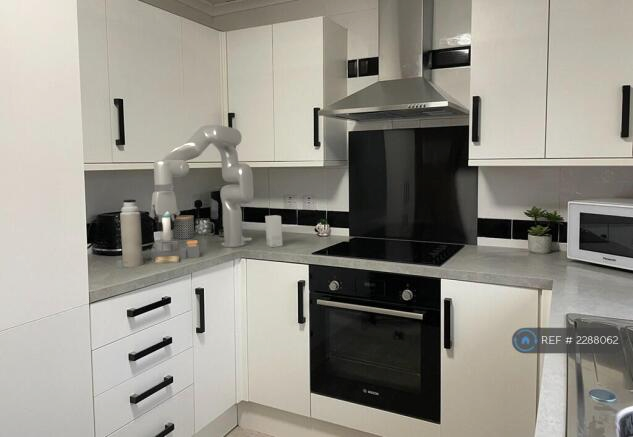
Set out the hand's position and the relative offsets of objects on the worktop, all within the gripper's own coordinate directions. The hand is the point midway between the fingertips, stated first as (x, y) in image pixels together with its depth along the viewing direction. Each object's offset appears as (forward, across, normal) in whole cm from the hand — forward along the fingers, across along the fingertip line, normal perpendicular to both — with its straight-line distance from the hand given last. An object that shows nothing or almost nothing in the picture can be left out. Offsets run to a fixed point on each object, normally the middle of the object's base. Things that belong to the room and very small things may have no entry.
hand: (165, 230), depth 222 cm
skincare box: (+14, -58, +4) cm, 60 cm away
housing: (+14, -8, -6) cm, 17 cm away
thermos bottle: (+14, +14, -4) cm, 20 cm away
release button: (+13, -14, -2) cm, 19 cm away
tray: (+14, 0, 0) cm, 14 cm away
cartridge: (+4, 0, 0) cm, 4 cm away
